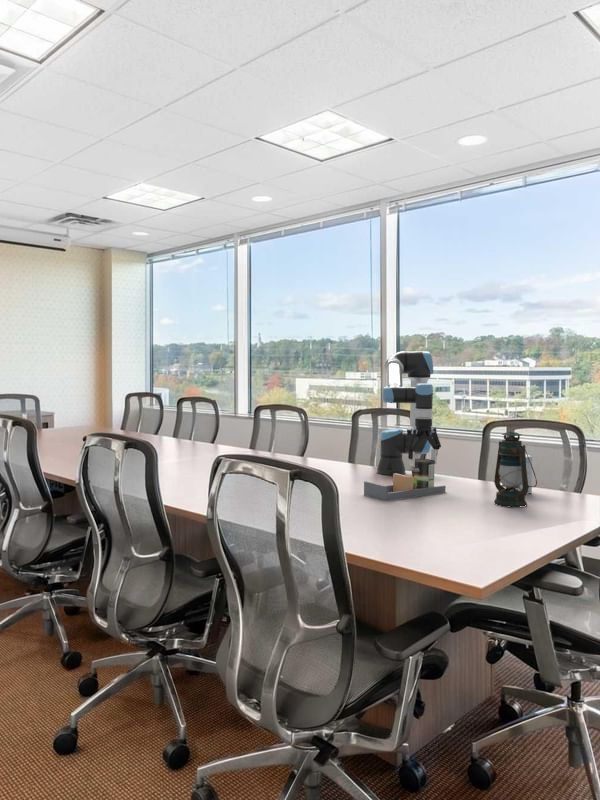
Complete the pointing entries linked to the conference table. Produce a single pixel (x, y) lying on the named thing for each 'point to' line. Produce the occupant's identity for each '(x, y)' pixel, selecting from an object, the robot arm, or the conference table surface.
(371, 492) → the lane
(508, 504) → the lantern
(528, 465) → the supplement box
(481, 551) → the conference table surface
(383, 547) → the conference table surface
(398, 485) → the block
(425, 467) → the coffee can
